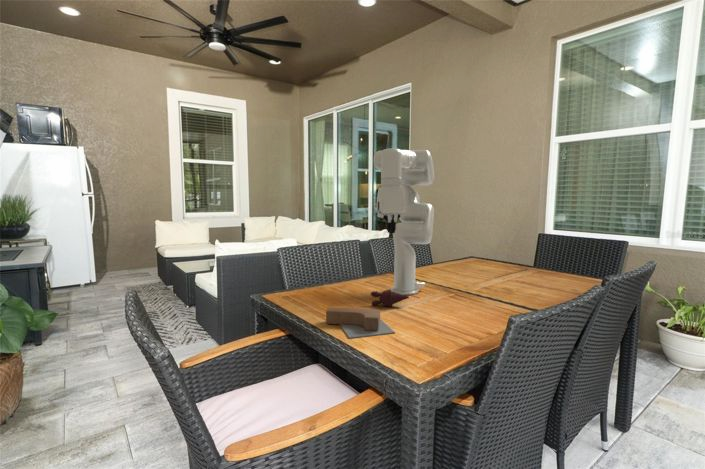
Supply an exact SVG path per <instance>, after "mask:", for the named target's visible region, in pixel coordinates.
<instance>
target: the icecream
mask: <svg viewBox="0 0 705 469" xmlns="http://www.w3.org/2000/svg"><path fill="white" fill-rule="evenodd" d="M370 296H372V298H373V297H374V298H378V299H377V300H373V301H372V302H371V305H372V306H373V307H378V306H380V305H381V304H382V305H383V306H386V307H393V305H394V304H397V303H400V302H402V301H404V300H407V299H409V298H410V297H409V295H402V294H398V293H395V292H391V288H390V289H386V290H383V291H382V292H379V291H377V290H376V291H375V290H374V291H371V293H370Z"/></svg>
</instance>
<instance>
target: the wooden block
mask: <svg viewBox="0 0 705 469" xmlns="http://www.w3.org/2000/svg"><path fill="white" fill-rule="evenodd" d="M325 313H326V314H325V320H326V321H325V322H326V324H329V325H331V324H332V325H339V324H348V325H360V326H362V327H364V330H366V331H378V329H379V324H380V319H381V310H380V309H378V308H359V307H358V308H356V307H355V308H353V307H333V306H331V307H330V306H329V307H328V308H327V309H326V310H325Z"/></svg>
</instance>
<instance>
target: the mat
mask: <svg viewBox="0 0 705 469" xmlns="http://www.w3.org/2000/svg"><path fill="white" fill-rule="evenodd" d="M338 325H339V326H340V328H341V329H342V330H343V332H344V333H345V334H346V336H347V337H348V339H358V338H359V339H360V338H367V337H374V336H382V335H392V334H396V333H395V331H394V330H393V329H392V328H391V327H390V326H388V324H386V323H385V321H383V319H381V318H380V324H379V329H378V331H366V330H364V327H362V326H360V325H348V324H338Z"/></svg>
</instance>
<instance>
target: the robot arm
mask: <svg viewBox="0 0 705 469" xmlns="http://www.w3.org/2000/svg"><path fill="white" fill-rule="evenodd" d="M433 161H434V160H433V157H432V154H431V152H430V151H429V150H427V149H413V150H412V149H411V150H409V149H399V148H385V149H382V150H378V151H376V152H375V154H374V156H373V165H374V167H375V169H376V170H377V171H380V187H378V189H377V190H378V191H377V196H376V208H375V209H376V214H377V217H378V218H380V219H383V220H384V221H385V222H386V231H387V233H389V234H392V238H393V246H394V247H393V248H394V250H393V251H394V257H393V258H394V265H393V266H394V267H393V268H394V272H393V273H394V274H393V277H394V278H393V285H394V286H391V288H390V289H391V292H395V293H398V294H402V295H406V296H409V295H410V296H411V295H416V294H418V293H419V288H420V287H421V288H422V287H425V286H426V282H425V281H424V282H419V281H416V266H417V264H416V263H417V260H416V258H417V256H416V251H415V249H414V248H413V246H412V245H429V244H430V243H431V242H432V239H433V233H434V232H433V231H434V223H435V222H434V221H435V210H434V206H433V205H432V204H431V203H428V202H420V200H421V198H420V194H419V193H418V191H417V190H416V189H415V188H413V186H431V185H432V184H433V183H435V169H434V162H433ZM398 220H399V221H401V222H398Z"/></svg>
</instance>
